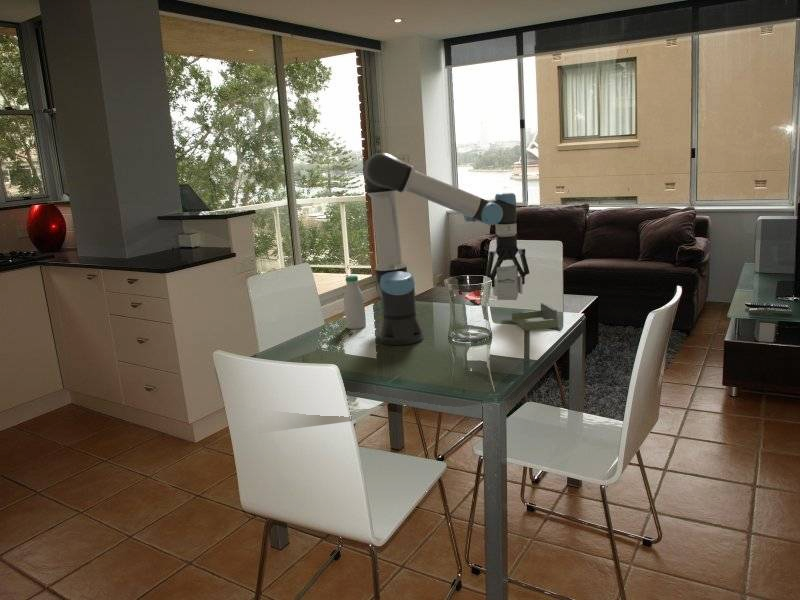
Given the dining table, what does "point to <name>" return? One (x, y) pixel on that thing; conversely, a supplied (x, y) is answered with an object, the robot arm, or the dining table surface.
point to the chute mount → (536, 318)
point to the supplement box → (507, 282)
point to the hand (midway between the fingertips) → (507, 294)
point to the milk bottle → (354, 304)
